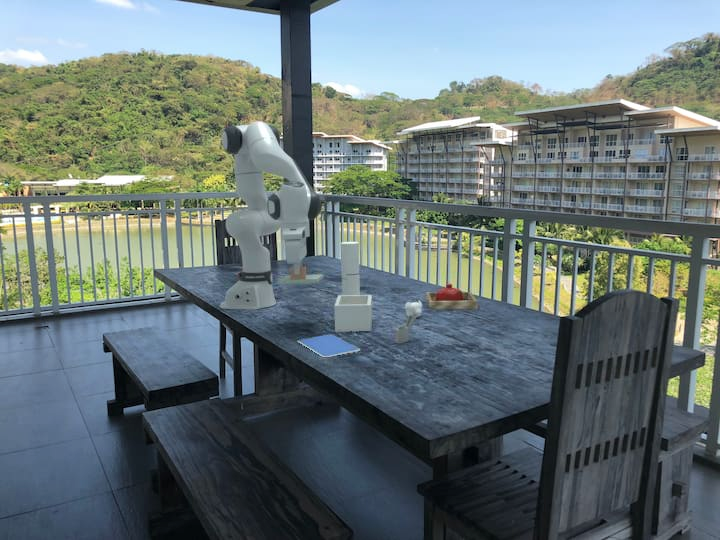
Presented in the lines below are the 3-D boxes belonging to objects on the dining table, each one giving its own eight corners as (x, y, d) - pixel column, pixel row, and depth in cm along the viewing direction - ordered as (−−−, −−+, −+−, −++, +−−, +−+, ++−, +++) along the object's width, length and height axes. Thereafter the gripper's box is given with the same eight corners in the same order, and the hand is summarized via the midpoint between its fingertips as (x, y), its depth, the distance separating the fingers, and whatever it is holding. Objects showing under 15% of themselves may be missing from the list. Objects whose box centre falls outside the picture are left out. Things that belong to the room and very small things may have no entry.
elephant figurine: (412, 320, 196) (412, 304, 195) (399, 316, 202) (399, 300, 201) (427, 317, 199) (427, 301, 198) (414, 313, 206) (413, 297, 205)
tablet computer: (361, 353, 162) (361, 348, 162) (323, 360, 156) (323, 356, 156) (331, 337, 179) (331, 333, 179) (296, 344, 173) (295, 340, 172)
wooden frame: (429, 309, 212) (429, 301, 211) (426, 299, 229) (426, 292, 228) (477, 308, 211) (477, 301, 210) (470, 298, 228) (470, 291, 227)
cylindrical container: (358, 306, 219) (356, 243, 215) (340, 305, 221) (339, 243, 217) (361, 302, 226) (360, 241, 222) (344, 301, 228) (343, 241, 223)
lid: (278, 285, 180) (277, 267, 180) (287, 280, 197) (286, 264, 197) (317, 284, 180) (316, 266, 179) (323, 279, 197) (322, 263, 196)
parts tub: (335, 331, 183) (334, 305, 182) (339, 319, 199) (338, 295, 197) (371, 331, 183) (370, 305, 181) (372, 319, 198) (371, 294, 197)
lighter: (398, 343, 169) (398, 318, 167) (394, 342, 170) (394, 317, 169) (416, 339, 173) (416, 315, 171) (412, 338, 174) (412, 313, 173)
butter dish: (429, 305, 219) (429, 284, 218) (444, 300, 228) (444, 280, 226) (454, 309, 212) (454, 287, 210) (469, 303, 220) (469, 283, 219)
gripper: (291, 229, 190) (293, 268, 192) (280, 234, 170) (283, 278, 172) (309, 228, 190) (311, 268, 192) (301, 234, 170) (303, 278, 172)
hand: (298, 273), depth 182 cm, fingers closed on lid
